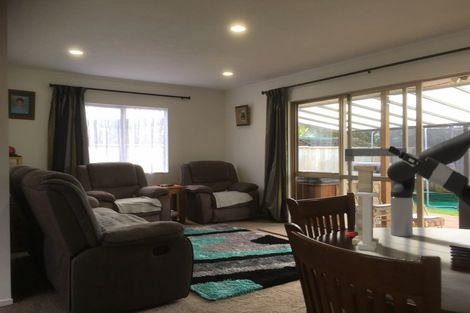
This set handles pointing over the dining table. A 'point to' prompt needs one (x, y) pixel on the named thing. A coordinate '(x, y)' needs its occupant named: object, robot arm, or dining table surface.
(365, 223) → the rest post
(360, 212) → the tall stand
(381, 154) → the hook bar
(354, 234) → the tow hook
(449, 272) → the dining table surface
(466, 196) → the robot arm
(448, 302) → the dining table surface
